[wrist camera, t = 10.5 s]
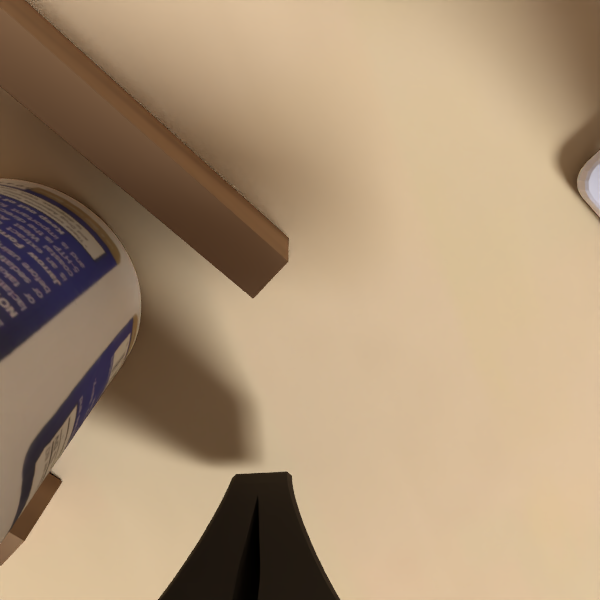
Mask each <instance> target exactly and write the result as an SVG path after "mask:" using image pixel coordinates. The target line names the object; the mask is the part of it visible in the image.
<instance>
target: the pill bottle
mask: <svg viewBox="0 0 600 600" xmlns="http://www.w3.org/2000/svg"><path fill="white" fill-rule="evenodd" d="M140 318H141V294H140V286H139V281H138V278H137V274H136V271H135V269H134V266H133V264H132V262H131V259H130V257H129V255H128V253H127V252H126V250H125V248H124V247H123V245H122V243H121V242H120V240H119V239H118V238H117V236H116V235H115V234H114V233H113V231H112V230H111V229H110V228H109V227H108V226H107V225H106V224H105V223H104V222H103V221H102V220H101V219H100V218H99V217H98V216H97V215H96V214H94V213H93V212H92V211H91V210H90V209H88V208H87V207H86V206H84V205H83V204H81V203H80V202H78V201H77V200H75V199H73V198H71V197H70V196H68V195H66V194H64V193H62V192H60V191H57V190H55V189H52V188H50V187H47V186H44V185H41V184H38V183H33V182H28V181H23V180H17V179H0V544H1V542H2V541H3V539H4V538H5V536H6V535H7V534H8V532H9V531H10V530H11V529H12V527H13V525H14V524H15V522H16V520H17V519H18V518H19V516H20V515H21V513H22V512H23V510H24V509H25V507H26V506H27V505H28V503H29V502H30V500H31V499H32V497H33V496H34V494H35V493H36V491H37V490H38V488H39V487H40V485H41V484H42V482H43V481H44V479H45V478H46V476H47V475H48V473H49V472H50V470H51V469H52V467H53V466H54V464H55V463H56V462H57V460H58V459H59V457H60V456H61V455H62V453H63V451H64V450H65V448H66V447H67V445H68V444H69V443H70V441H71V440H72V438H73V437H74V435H75V433H76V432H77V430H78V429H79V428H80V426H81V425H82V423H83V421H84V420H85V419H86V417H87V416H88V414H89V413H90V411H91V410H92V408H93V407H94V406H95V404H96V403H97V401H98V400H99V398H100V397H101V395H102V394H103V392H104V391H105V389H106V388H107V387H108V385H109V384H110V382H111V381H112V379H113V378H114V376H115V375H116V374H117V372H118V371H119V369H120V368H121V366H122V365H123V363H124V361H125V360H126V358H127V356H128V355H129V353H130V351H131V349H132V347H133V345H134V343H135V340H136V337H137V334H138V330H139V325H140Z"/></svg>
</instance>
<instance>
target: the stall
mask: <svg viewBox="0 0 600 600" xmlns="http://www.w3.org/2000/svg"><path fill="white" fill-rule="evenodd" d="M0 86H1V87H2V88H3V89H4V90H5V91H7V92H8V93H9V94H10V95H11V96H12V97H14V98H15V99H16V100H17V101H18V102H20V103H21V104H22V105H23V106H24V107H26V108H27V109H28V110H29V111H30V112H32V113H33V114H34V115H35V116H36V117H37V118H39V119H40V120H41V121H42V122H43V123H45V124H46V125H47V126H48V127H49V128H51V129H52V130H53V131H54V132H55V133H57V134H58V135H59V136H60V137H61V138H62V139H64V140H65V141H66V142H67V143H68V144H70V145H71V146H72V147H73V148H74V149H76V150H77V151H78V152H79V153H80V154H81V155H83V156H84V157H85V158H86V159H87V160H89V161H90V162H91V163H92V164H93V165H95V166H96V167H97V168H98V169H99V170H101V171H102V172H103V173H104V174H105V175H106V176H108V177H109V178H110V179H111V180H112V181H114V182H115V183H116V184H117V185H118V186H120V187H121V188H122V189H123V190H124V191H126V192H127V193H128V194H129V195H130V196H131V197H133V198H134V199H135V200H136V201H137V202H139V203H140V204H141V205H142V206H143V207H145V208H146V209H147V210H148V211H149V212H151V213H152V214H153V215H154V216H155V217H156V218H158V219H159V220H160V221H161V222H162V223H164V224H165V225H166V226H167V227H168V228H170V229H171V230H172V231H173V232H174V233H176V234H177V235H178V236H179V237H180V238H181V239H183V240H184V241H185V242H186V243H187V244H189V245H190V246H191V247H192V248H193V249H195V250H196V251H197V252H198V253H199V254H200V255H202V256H203V257H204V258H205V259H206V260H208V261H209V262H210V263H211V264H212V265H214V266H215V267H216V268H217V269H218V270H220V271H221V272H222V273H223V274H224V275H225V276H227V277H228V278H229V279H230V280H231V281H233V282H234V283H235V284H236V285H237V286H239V287H240V288H241V289H242V290H243V291H245V292H246V293H247V294H248V295H249V296H250V297H252V298H254V297H255V296H256V295H257V294H258V293H259V292H260V291H261V290H262V289H263V288H264V287H265V286H266V284H267V283H268V282H269V281H270V280H271V279H272V278H273V277H274V276H275V275H276V274H277V273H278V272H279V271H280V270H281V269H282V268H283V266H284V265H285V264H286V263H287V262H288V244H289V238H288V237H287V236H286V235H285V234H283V233H282V232H281V231H280V230H279V229H278V228H277V227H276V226H275V225H273V224H272V223H271V222H270V221H269V220H268V219H267V218H266V217H265V216H263V215H262V214H261V213H260V212H259V211H258V210H257V209H256V208H255V207H253V206H252V205H251V204H250V203H249V202H248V201H247V200H246V199H245V198H243V197H242V196H241V195H240V194H239V193H238V192H237V191H236V190H235V189H233V188H232V187H231V186H230V185H229V184H228V183H227V182H226V181H225V180H223V179H222V178H221V177H220V176H219V175H218V174H217V173H216V172H215V171H213V170H212V169H211V168H210V167H209V166H208V165H207V164H206V163H205V162H203V161H202V160H201V159H200V158H199V157H198V156H197V155H196V154H195V153H193V152H192V151H191V150H190V149H189V148H188V147H187V146H186V145H185V144H183V143H182V142H181V141H180V140H179V139H178V138H177V137H176V136H175V135H174V134H172V133H171V132H170V131H169V130H168V129H167V128H166V127H165V126H164V125H162V124H161V123H160V122H159V121H158V120H157V119H156V118H155V117H154V116H152V115H151V114H150V113H149V112H148V111H147V110H146V109H145V108H144V107H142V106H141V105H140V104H139V103H138V102H137V101H136V100H135V99H134V98H132V97H131V96H130V95H129V94H128V93H127V92H126V91H125V90H124V89H122V88H121V87H120V86H119V85H118V84H117V83H116V82H115V81H114V80H112V79H111V78H110V77H109V76H108V75H107V74H106V73H105V72H104V71H102V70H101V69H100V68H99V67H98V66H97V65H96V64H95V63H94V62H92V61H91V60H90V59H89V58H88V57H87V56H86V55H85V54H84V53H82V52H81V51H80V50H79V49H78V48H77V47H76V46H75V45H74V44H72V43H71V42H70V41H69V40H68V39H67V38H66V37H65V36H64V35H62V34H61V33H60V32H59V31H58V30H57V29H56V28H55V27H54V26H52V25H51V24H50V23H49V22H48V21H47V20H46V19H45V18H44V17H42V16H41V15H40V14H39V13H38V12H37V11H36V10H35V9H34V8H32V7H31V6H30V5H29V4H28V3H27V2H26V1H25V0H0ZM61 483H62V481H61V480H59V479H58V478H56V477H55V476H53V475H51V474H50V473H48V475H47V476H46V478H45V479H44V481H43V482H42V484H41V485H40V487H39V488H38V490H37V491H36V493H35V494H34V496H33V497H32V499H31V500H30V502H29V503H28V505H27V506H26V507H25V509H24V510H23V512H22V513H21V515H20V516H19V518H18V519H17V520H16V522H15V524H14V525H13V527H12V529H11V530H10V531H9V532H8V534H7V535H6V536H5V538H4V539H3V541H2V542H1V544H0V566H1V565H2V564H3V563H4V562H5V561H6V560H7V559H8V558H9V557H10V556H11V555H12V554H13V553H14V551H15V550H16V549H17V548H18V547H19V546H20V545H21V544H22V543H23V542H24V541H25V539H26V538H27V536H28V535H29V533H30V531H31V530H32V528H33V527H34V525H35V524H36V522H37V520H38V519H39V517H40V516H41V514H42V513H43V511H44V509H45V508H46V506H47V505H48V503H49V502H50V500H51V499H52V497H53V495H54V494H55V492H56V491H57V489H58V488H59V486H60V484H61Z"/></svg>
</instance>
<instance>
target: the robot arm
mask: <svg viewBox="0 0 600 600" xmlns="http://www.w3.org/2000/svg"><path fill="white" fill-rule="evenodd" d="M577 189H578V191H579V193H580V195H581V196H582V198H583V199H584V200H585V201H586V202H587V203H588V204H589V206H590V207H591V208H592V209H593V210H594V211H595V213H596V214H597V215H598V216H599V217H600V150H599V151H598V152H597V153H596V154H595V155H594V156H593V157H592V158H591V159H589V160H588V161H587V162H586V164H585V165H584V166H583V167H582V169H581V170H580V172H579V175H578V178H577ZM158 600H340V599H339V597H338V595H337V593H336V592H335V590H334V588H333V586H332V584H331V583H330V581H329V579H328V577H327V575H326V573H325V571H324V569H323V567H322V565H321V563H320V561H319V559H318V557H317V555H316V552H315V550H314V548H313V546H312V543H311V541H310V538H309V536H308V533H307V531H306V529H305V526H304V524H303V521H302V518H301V515H300V512H299V509H298V506H297V503H296V499H295V495H294V491H293V485H292V476H291V475H290V474H289V473H288V472H273V473H252V474H236V475H235V476H234V477H233V478H232V480H231V482H230V485H229V487H228V489H227V491H226V493H225V495H224V497H223V499H222V501H221V503H220V505H219V507H218V509H217V511H216V512H215V514H214V516H213V518H212V520H211V521H210V523H209V525H208V526H207V528H206V530H205V532H204V533H203V535H202V537H201V538H200V540H199V542H198V543H197V545H196V546H195V548H194V550H193V551H192V552H191V554H190V555H189V557H188V558H187V560H186V561H185V563H184V564H183V566H182V567H181V569H180V570H179V572H178V573H177V575H176V576H175V578H174V579H173V580H172V582H171V583H170V584H169V586H168V587H167V589H166V590H165V591H164V593H163V594H162V595H161V596H160V598H159V599H158Z"/></svg>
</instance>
